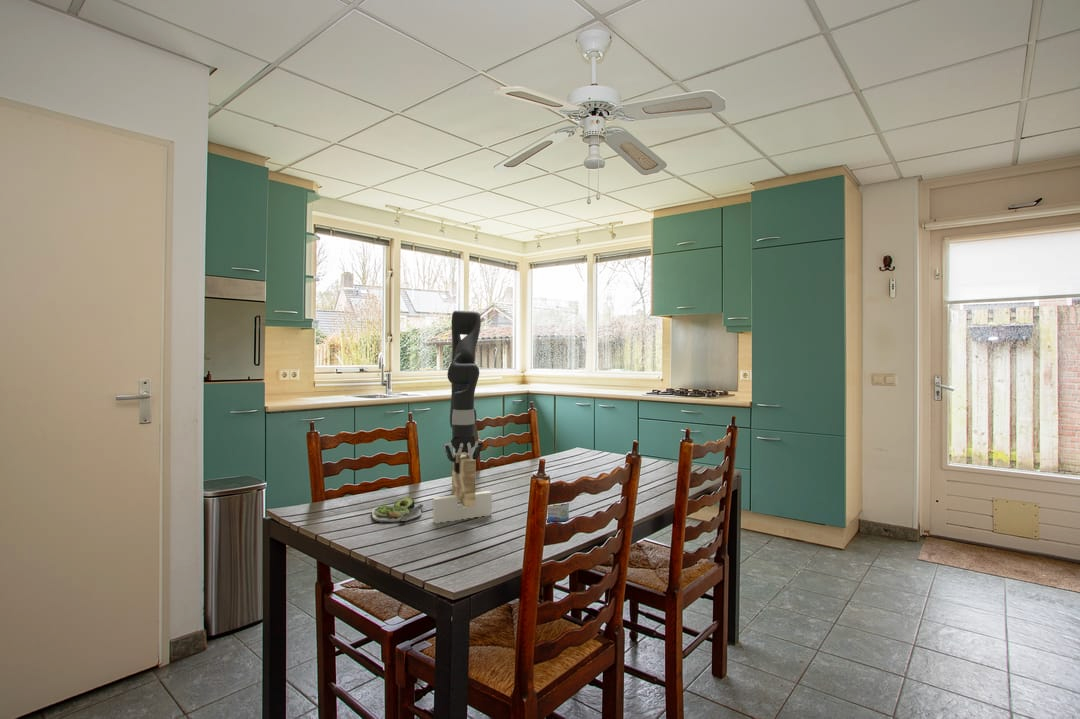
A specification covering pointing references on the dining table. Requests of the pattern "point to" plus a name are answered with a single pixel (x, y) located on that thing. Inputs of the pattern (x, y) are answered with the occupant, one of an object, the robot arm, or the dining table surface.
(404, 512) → the salad plate
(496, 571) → the dining table surface
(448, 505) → the slotted board
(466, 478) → the tan thick flat block
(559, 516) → the medicine box
